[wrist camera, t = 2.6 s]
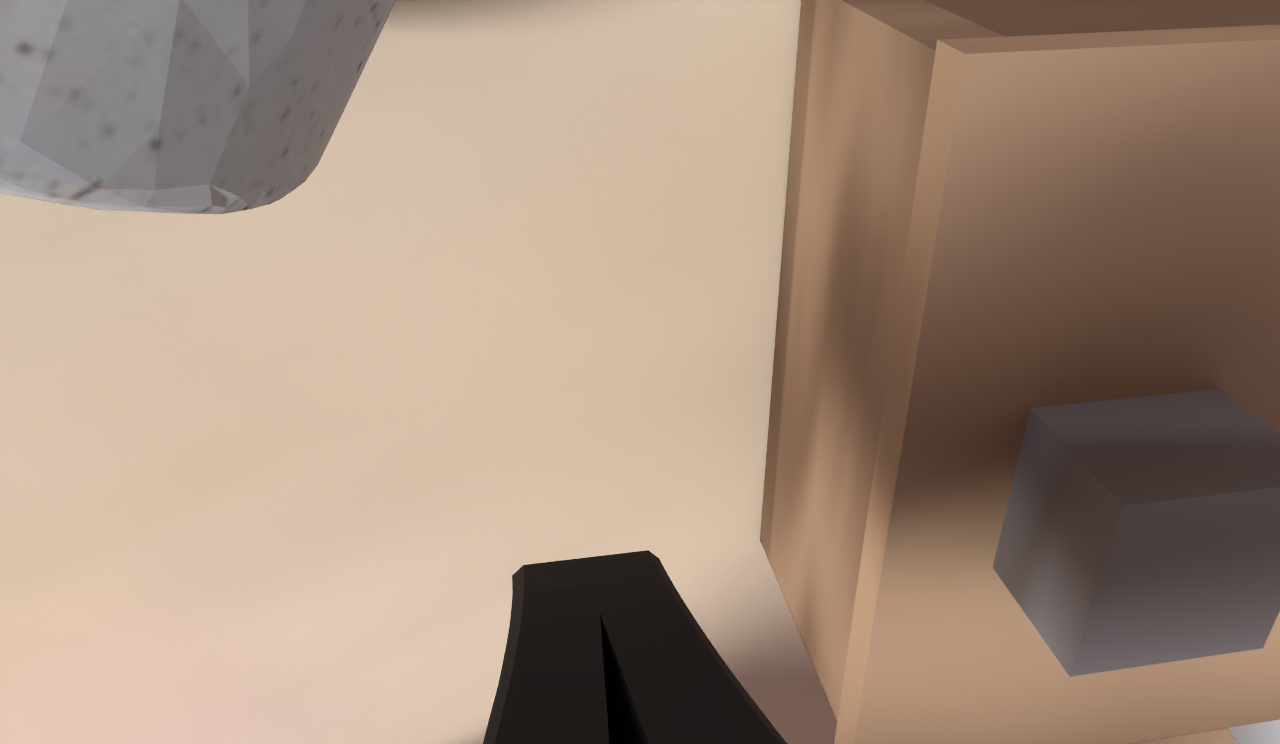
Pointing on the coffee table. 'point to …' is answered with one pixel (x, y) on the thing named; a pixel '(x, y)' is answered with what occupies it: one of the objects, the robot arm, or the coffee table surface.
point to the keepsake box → (872, 263)
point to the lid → (1081, 401)
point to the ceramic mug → (174, 98)
